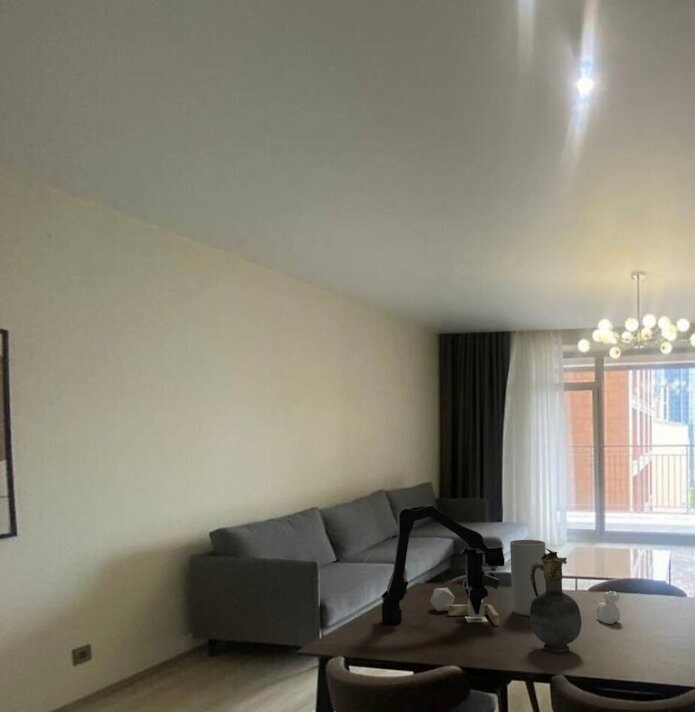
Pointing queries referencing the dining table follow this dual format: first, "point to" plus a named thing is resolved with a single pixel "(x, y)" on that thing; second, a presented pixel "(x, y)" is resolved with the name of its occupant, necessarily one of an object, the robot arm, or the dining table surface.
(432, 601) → the die
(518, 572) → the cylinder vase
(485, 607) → the wooden corner guide
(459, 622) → the dining table surface
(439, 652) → the dining table surface
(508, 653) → the dining table surface
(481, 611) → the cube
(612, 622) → the white figurine
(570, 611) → the pitcher
